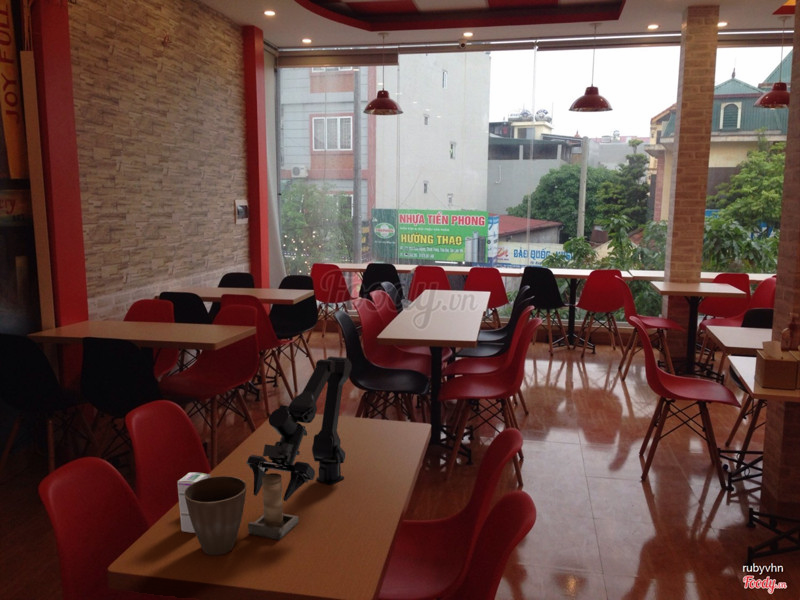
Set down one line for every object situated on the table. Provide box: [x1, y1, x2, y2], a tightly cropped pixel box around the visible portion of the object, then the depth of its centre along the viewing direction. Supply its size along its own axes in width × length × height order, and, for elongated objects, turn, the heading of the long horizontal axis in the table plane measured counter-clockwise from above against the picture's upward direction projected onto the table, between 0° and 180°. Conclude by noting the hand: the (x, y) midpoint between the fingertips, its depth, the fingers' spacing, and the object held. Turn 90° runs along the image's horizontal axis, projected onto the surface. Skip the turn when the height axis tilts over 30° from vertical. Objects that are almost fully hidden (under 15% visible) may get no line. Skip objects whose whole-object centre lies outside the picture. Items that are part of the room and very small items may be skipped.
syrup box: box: [177, 472, 208, 534], centre depth 168 cm, size 6×6×14 cm
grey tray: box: [247, 513, 299, 541], centre depth 168 cm, size 10×10×3 cm
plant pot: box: [184, 475, 247, 556], centre depth 158 cm, size 15×15×16 cm
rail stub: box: [261, 472, 284, 528], centre depth 167 cm, size 5×5×14 cm
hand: (269, 497), depth 166 cm, fingers open, 9 cm apart
